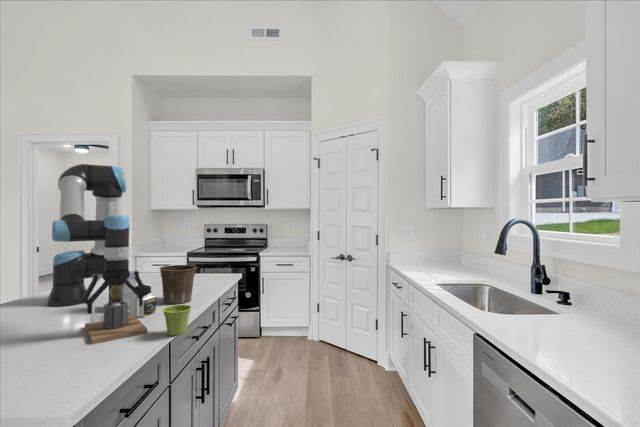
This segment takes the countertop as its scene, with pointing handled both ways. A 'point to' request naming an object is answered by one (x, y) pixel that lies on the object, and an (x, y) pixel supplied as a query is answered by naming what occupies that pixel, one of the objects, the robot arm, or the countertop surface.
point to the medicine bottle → (143, 303)
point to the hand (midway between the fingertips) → (115, 319)
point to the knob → (115, 314)
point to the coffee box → (122, 292)
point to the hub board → (114, 330)
